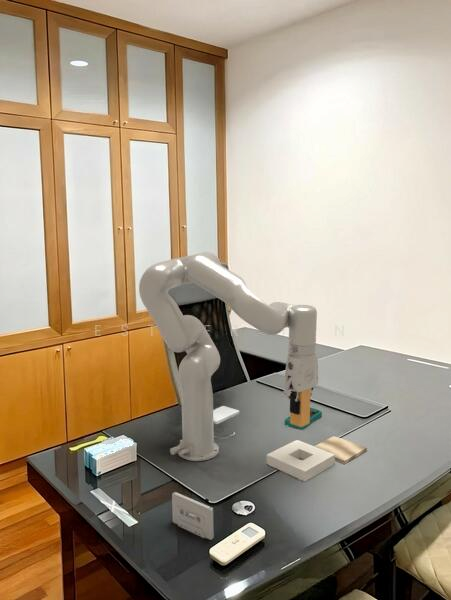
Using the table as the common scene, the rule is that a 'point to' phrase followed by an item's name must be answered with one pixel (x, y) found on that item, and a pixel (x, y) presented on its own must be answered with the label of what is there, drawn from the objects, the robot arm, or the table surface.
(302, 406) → the plug
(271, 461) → the white square holed plate
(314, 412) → the digital multimeter
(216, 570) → the table surface
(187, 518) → the cassette
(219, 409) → the hard drive
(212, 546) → the table surface
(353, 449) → the pad
